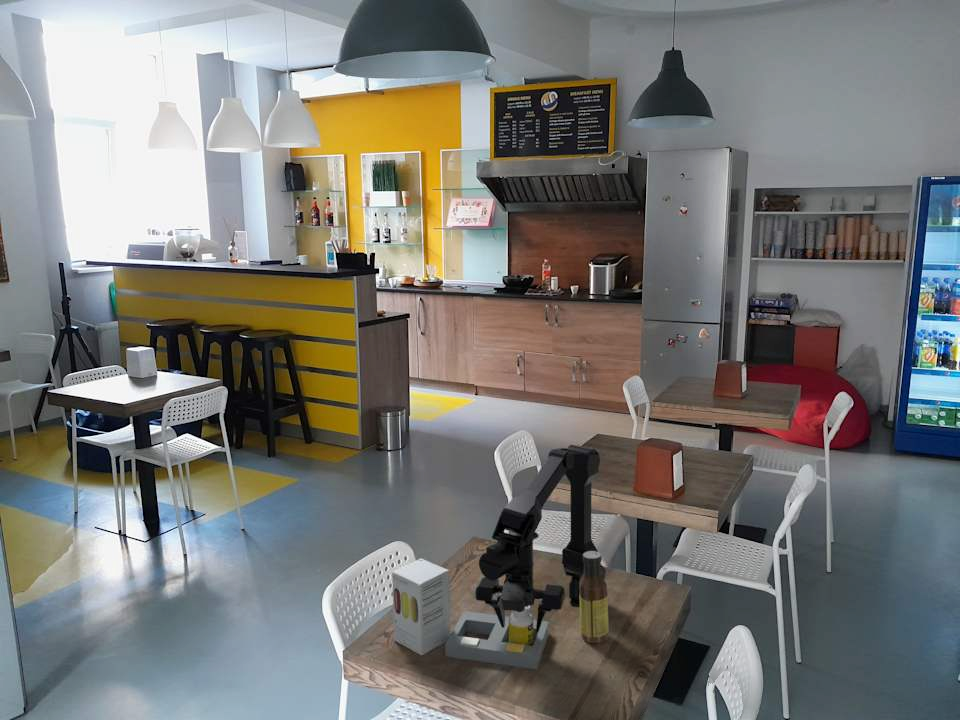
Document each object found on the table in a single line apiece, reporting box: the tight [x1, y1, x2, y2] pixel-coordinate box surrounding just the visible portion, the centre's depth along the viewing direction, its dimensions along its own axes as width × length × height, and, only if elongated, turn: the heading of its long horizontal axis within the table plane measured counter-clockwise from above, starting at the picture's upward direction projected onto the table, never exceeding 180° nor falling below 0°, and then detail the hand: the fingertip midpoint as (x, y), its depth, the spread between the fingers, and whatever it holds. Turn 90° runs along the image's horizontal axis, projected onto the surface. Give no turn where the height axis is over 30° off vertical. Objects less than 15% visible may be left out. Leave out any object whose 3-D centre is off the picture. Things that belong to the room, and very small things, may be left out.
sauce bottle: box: [579, 551, 610, 644], centre depth 163 cm, size 6×6×20 cm
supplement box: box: [391, 557, 452, 656], centre depth 163 cm, size 10×9×17 cm
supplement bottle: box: [508, 605, 534, 646], centre depth 160 cm, size 5×5×10 cm
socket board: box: [444, 610, 550, 670], centre depth 162 cm, size 20×14×3 cm
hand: (520, 629), depth 160 cm, fingers open, 7 cm apart
